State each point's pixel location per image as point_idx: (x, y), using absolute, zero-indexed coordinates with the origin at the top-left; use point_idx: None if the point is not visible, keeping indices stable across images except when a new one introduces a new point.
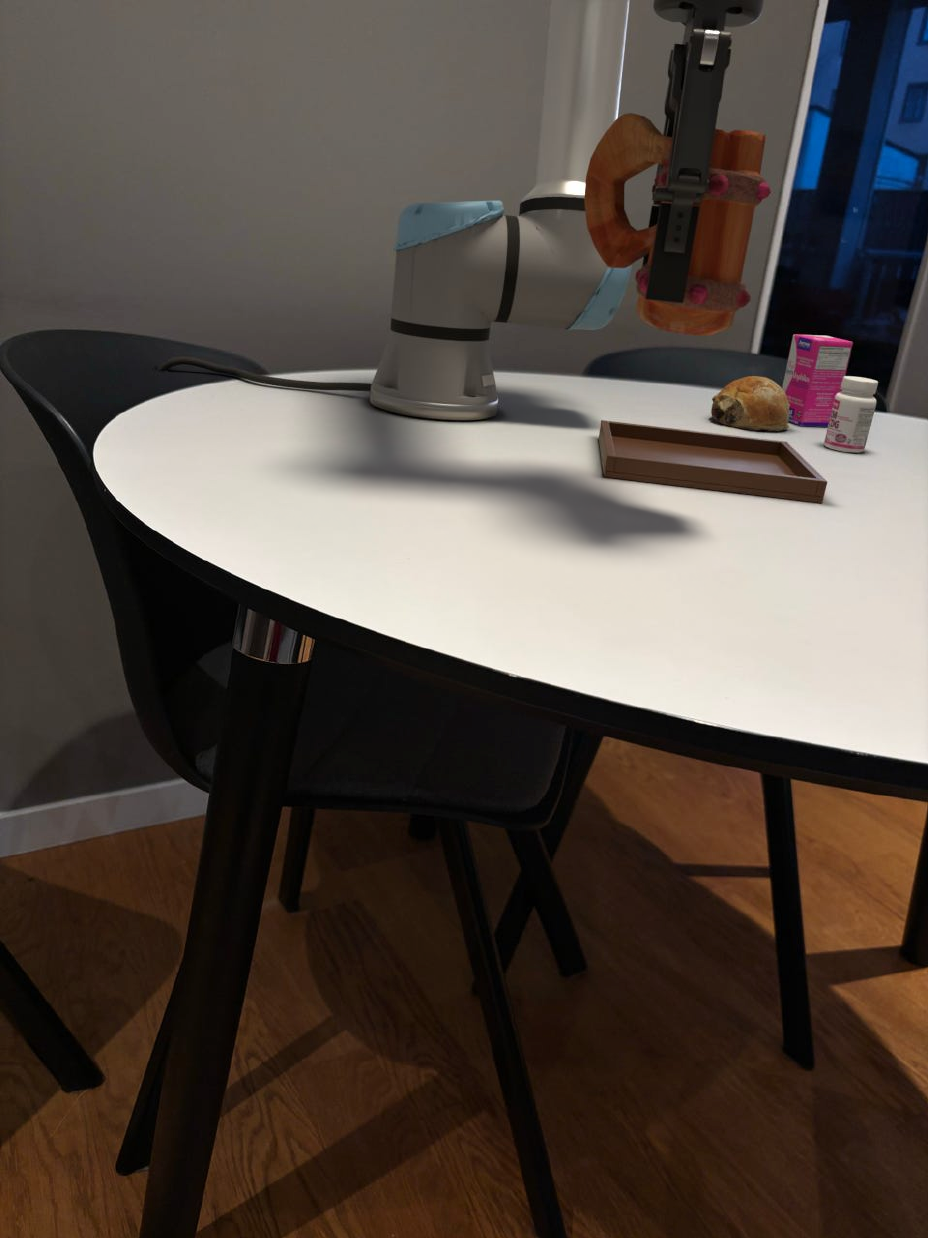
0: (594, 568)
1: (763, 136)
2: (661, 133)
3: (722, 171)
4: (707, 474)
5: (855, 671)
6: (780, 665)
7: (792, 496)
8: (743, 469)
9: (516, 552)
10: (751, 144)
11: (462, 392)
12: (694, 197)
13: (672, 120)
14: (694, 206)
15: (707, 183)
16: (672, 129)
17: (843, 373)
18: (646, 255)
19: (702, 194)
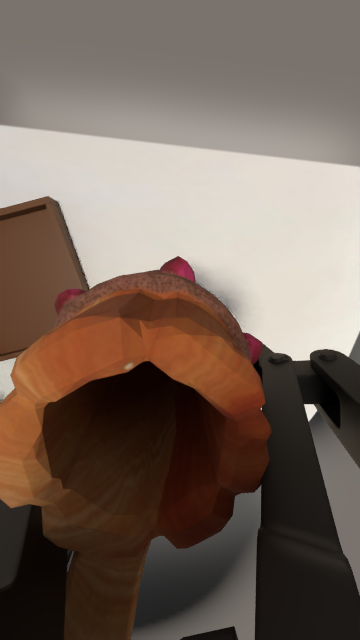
0: (263, 301)
1: (129, 320)
2: (71, 590)
3: (248, 357)
4: (80, 277)
5: (331, 189)
6: (336, 219)
7: (63, 221)
8: (19, 258)
9: (259, 333)
10: (226, 335)
11: None
12: (300, 361)
13: (61, 634)
14: (258, 359)
15: (332, 353)
16: (59, 592)
17: None
18: None
19: (288, 356)
